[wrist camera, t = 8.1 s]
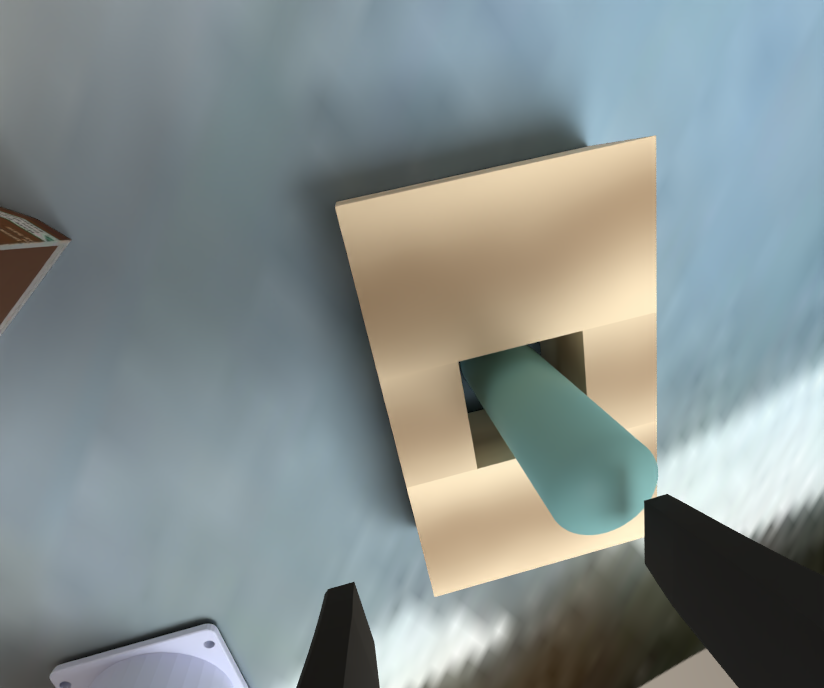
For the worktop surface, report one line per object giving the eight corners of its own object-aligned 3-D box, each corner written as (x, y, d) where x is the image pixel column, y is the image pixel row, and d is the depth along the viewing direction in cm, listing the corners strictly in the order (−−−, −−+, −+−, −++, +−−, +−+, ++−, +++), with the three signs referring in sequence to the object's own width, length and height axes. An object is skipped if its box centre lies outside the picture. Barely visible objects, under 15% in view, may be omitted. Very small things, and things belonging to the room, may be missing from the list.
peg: (528, 381, 20) (658, 518, 12) (465, 397, 20) (553, 547, 12) (521, 320, 19) (658, 424, 11) (455, 337, 19) (543, 455, 11)
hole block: (606, 476, 23) (656, 533, 19) (419, 528, 22) (434, 596, 19) (588, 146, 17) (656, 135, 14) (336, 202, 17) (335, 206, 13)
